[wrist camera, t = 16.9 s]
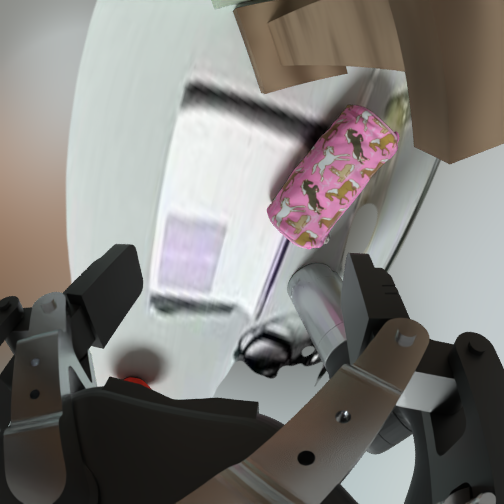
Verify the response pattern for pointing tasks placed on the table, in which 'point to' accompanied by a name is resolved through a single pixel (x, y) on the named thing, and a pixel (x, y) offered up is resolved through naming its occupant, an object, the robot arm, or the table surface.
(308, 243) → the pencil case
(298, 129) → the table surface
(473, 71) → the walnut stand
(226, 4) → the sage block
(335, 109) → the table surface
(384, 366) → the robot arm
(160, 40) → the table surface
